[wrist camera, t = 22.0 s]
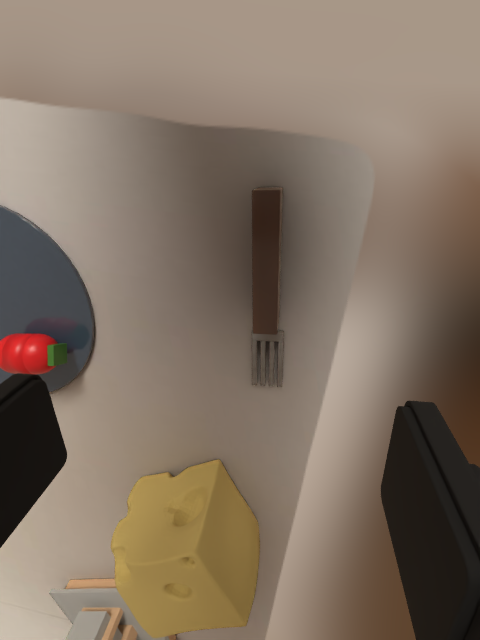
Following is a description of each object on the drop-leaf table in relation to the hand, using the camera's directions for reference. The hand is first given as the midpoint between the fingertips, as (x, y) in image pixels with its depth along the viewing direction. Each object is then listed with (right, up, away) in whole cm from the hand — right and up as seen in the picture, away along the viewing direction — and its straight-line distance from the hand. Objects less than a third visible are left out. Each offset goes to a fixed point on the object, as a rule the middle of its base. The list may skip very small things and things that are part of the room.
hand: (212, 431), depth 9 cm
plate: (-22, +4, +23) cm, 32 cm away
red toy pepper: (-18, +2, +22) cm, 28 cm away
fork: (+3, +5, +19) cm, 19 cm away
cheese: (-3, -17, +29) cm, 34 cm away
